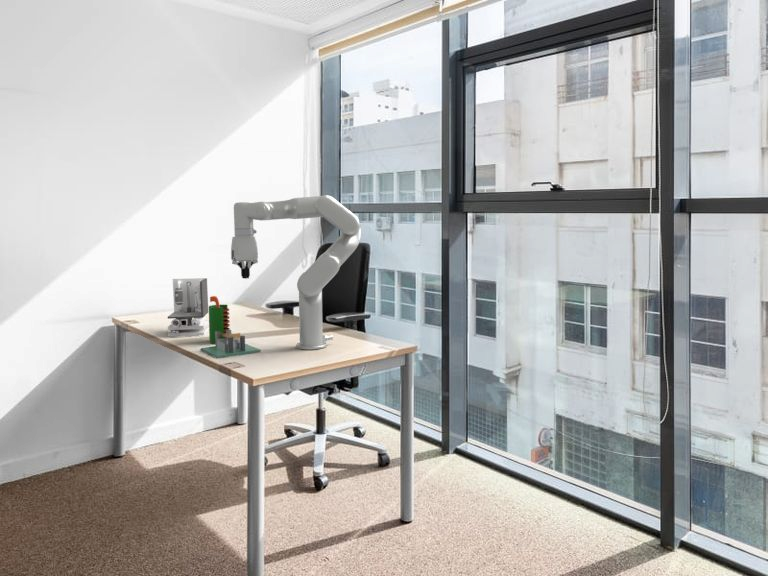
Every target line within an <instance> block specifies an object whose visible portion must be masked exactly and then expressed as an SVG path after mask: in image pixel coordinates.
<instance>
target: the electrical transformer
mask: <svg viewBox="0 0 768 576" xmlns="http://www.w3.org/2000/svg"><path fill="white" fill-rule="evenodd" d="M172 292H173V312H172V313H171V314H169V315H168V316H167V319H171V322H170V324H169V325H168V326H167V330H168V332H167V333H168V335H167V336H185V337H200V336H199V335H204V336H205V335H206V334H207V333H208V332H209V330H208V329H209V319H206V317H207V316H206V315H207V314H209V297H208V296H209V295H208V294H209V293H208V292H209V291H208V278H202V277H201V278H172ZM207 331H208V332H207ZM206 332H207V333H206ZM205 333H206V334H205Z"/></svg>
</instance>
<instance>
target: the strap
mask: <svg viewBox="0 0 768 576" xmlns="http://www.w3.org/2000/svg"><path fill="white" fill-rule="evenodd" d="M220 336H223V337H232V338H233V339H236V338H241V337H240V336H241V332H236V333H232V332H231V333H227V332H226V333H220Z"/></svg>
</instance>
